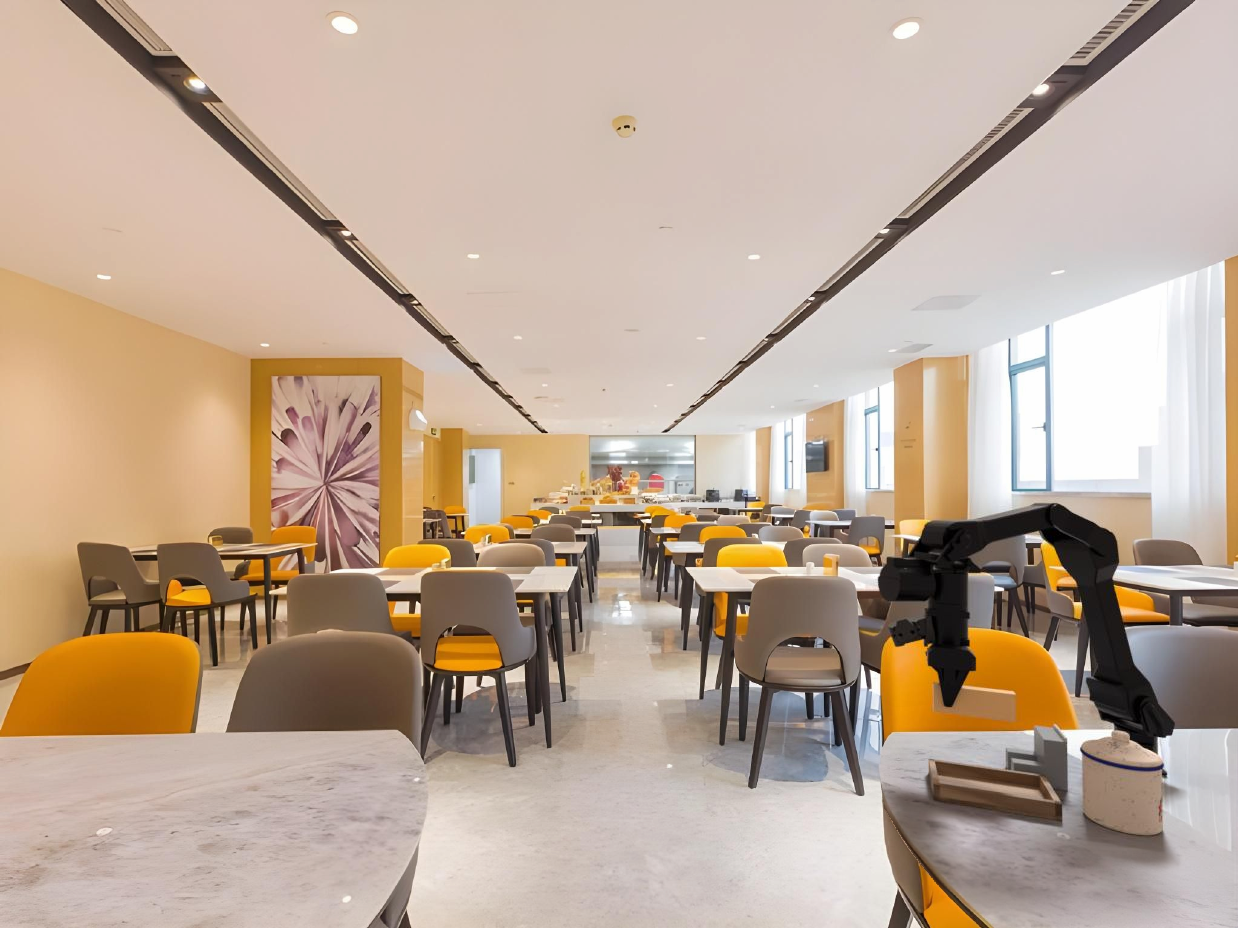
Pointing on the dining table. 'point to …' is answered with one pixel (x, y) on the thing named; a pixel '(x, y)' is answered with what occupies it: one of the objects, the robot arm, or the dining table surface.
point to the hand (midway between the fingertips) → (947, 704)
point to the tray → (994, 789)
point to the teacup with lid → (1122, 785)
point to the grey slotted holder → (1043, 757)
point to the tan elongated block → (978, 703)
